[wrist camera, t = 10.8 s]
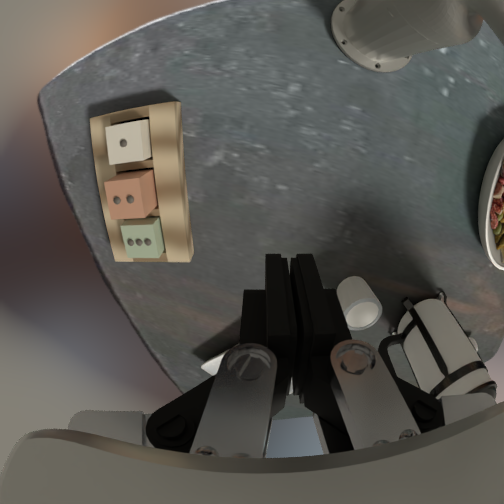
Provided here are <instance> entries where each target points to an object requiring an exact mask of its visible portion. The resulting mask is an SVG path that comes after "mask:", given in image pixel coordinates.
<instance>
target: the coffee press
mask: <svg viewBox="0 0 504 504" xmlns="http://www.w3.org/2000/svg"><path fill="white" fill-rule="evenodd" d="M443 295H444V303H445V304H446V299H447V296H446V294H445V293H444V292H440V293H439V295H438V299H427V300H424V301H421V302H419V303H417V304H416V305H413V304H412V303H411V301H410V300H409V299H408V297H406V298H405V299H404V300H403V301H402V302H403V304H404V305H405V307H406V308H407V310H408V311H407V312H406V313H405V315H404V316H403V317H402V319H401V321H400V323H399V326H398V332H397V331H394V332H393V333H392V334H391V336H388V337H386V338H384V339H383V340H382V341H381V343H380V345H379V348H378V353H379V354H380V356H381V358H382V360H383V361H384V363H385V365H386V367H387V369H388V370H389V372H390V373H391V374H393V375H395V376H397V375H396V373H395V370H394V368H393V365H392V362H391V360H390V357H389V355H388V351H387V348H388V347H389V346H391V345H394V344H399V343H400V344H401V346H402V349H403V351H404V353H405V355H406V358H407V360H408V362H409V364H410V367H411V369H412V372H413V374H414V376H415V379H416V381H417V384H418V386H419V389H421V390H423V391H425V392H427V393H429V394H431V395H432V396H434V397H435V398H437V399H439V398H440V397H441V396H450V395H463V394H474V393H487V394H489V395H491V396H492V397H493V398H494V399H495V398H496V388H497V384H496V383H495V381H493V380H491V378H490V376H489V374H488V370H487V368H486V366H485V364H484V363H483V361H482V359H481V357H480V356H479V354H478V352H477V351H476V349H475V347H474V346H473V344H472V343H471V341H470V339H469V338H468V336H467V335H466V333H465V332H464V330H463V328H462V327H461V325H460V324H459V322H458V321H457V319H456V318H455V317H454V315H453V314H452V312H451V311H450V309H449V308H448V306H447V304H446V306H447V307H446V306H445V305H444V303H443V302H442V301H440V300H441V297H442V296H443ZM447 308H448V309H449V310H448V309H447ZM450 312H451V313H450ZM452 315H453V316H452ZM454 318H455V319H456V320H455V319H454ZM456 321H457V322H458V323H457V322H456ZM458 324H459V325H460V326H459V325H458ZM460 327H461V328H460ZM462 330H463V331H462ZM464 333H465V334H464ZM466 336H467V337H466ZM467 338H468V339H469V340H468V339H467ZM469 341H470V342H469ZM471 344H472V345H471ZM472 346H473V347H472ZM474 349H475V350H474ZM475 351H476V352H475ZM477 354H478V355H477ZM478 356H479V357H478ZM480 359H481V360H480Z"/></svg>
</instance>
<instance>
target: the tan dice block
mask: <svg viewBox="0 0 504 504" xmlns="http://www.w3.org/2000/svg"><path fill="white" fill-rule="evenodd" d="M104 185H105V191H106V197H107V202H108V207H109V212H110V217H111V220H115V219H133V218H145V217H146V216H147V215H148V214H149V213H150V212H151V211H152V210H153V209H154V208H155V207H156V206H157V205H158V201H157V194H156V186H155V178H154V169H149V170H140V171H131V172H123V173H120V174H118V175H116V176H114V177H112V178H111V179H109V180H107V181H105V182H104Z"/></svg>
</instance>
